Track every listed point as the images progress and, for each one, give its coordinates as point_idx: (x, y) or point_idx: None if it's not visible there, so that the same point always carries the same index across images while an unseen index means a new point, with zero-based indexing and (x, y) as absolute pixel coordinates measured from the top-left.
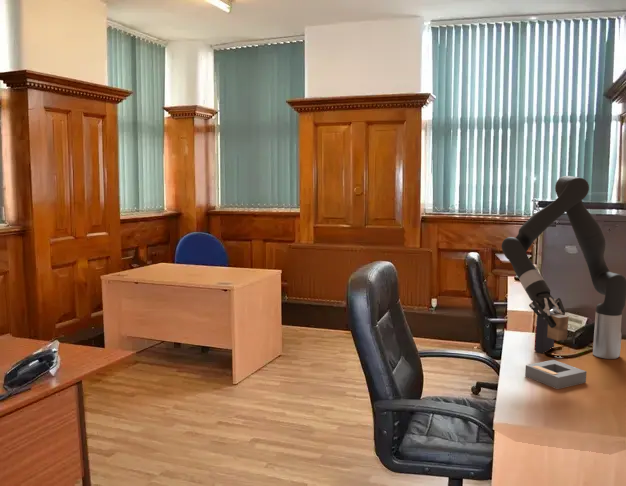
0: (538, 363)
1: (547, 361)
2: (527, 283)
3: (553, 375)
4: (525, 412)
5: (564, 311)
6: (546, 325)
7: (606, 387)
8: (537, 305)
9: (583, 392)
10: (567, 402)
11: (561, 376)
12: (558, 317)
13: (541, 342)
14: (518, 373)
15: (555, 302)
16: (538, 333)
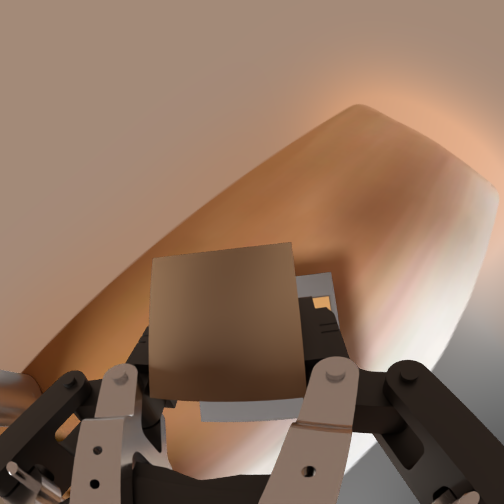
0: (288, 413)
1: (237, 417)
2: None
3: (331, 293)
4: (460, 202)
5: (72, 373)
6: None
7: (187, 251)
8: (487, 461)
9: (273, 243)
10: (360, 208)
11: (312, 277)
12: (288, 255)
13: None
14: None
15: (42, 494)
16: None
